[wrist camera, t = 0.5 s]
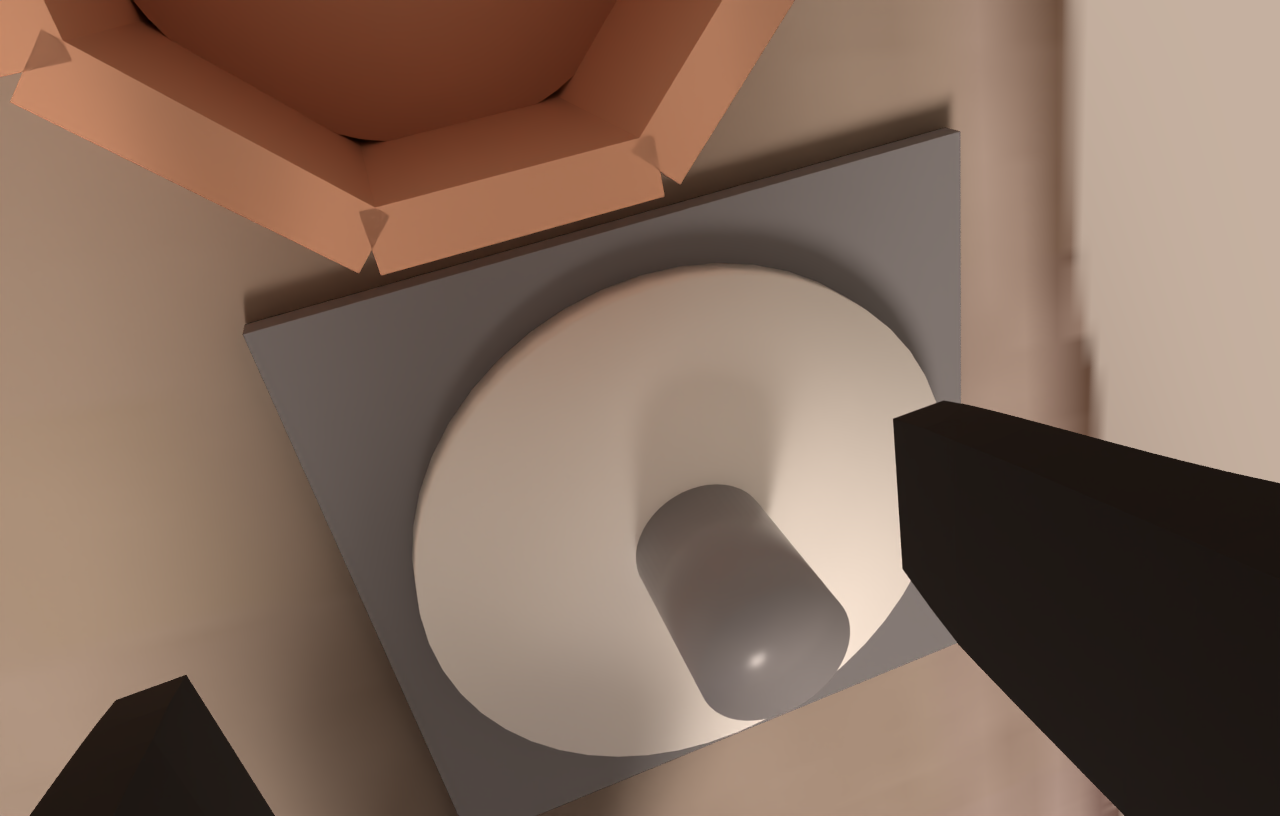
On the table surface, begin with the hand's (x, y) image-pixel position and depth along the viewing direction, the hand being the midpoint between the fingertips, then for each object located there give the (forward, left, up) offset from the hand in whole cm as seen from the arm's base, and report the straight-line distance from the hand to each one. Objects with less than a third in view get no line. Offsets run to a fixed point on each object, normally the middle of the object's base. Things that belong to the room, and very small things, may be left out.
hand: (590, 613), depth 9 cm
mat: (-6, -3, -9) cm, 11 cm away
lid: (-6, -3, -8) cm, 11 cm away
